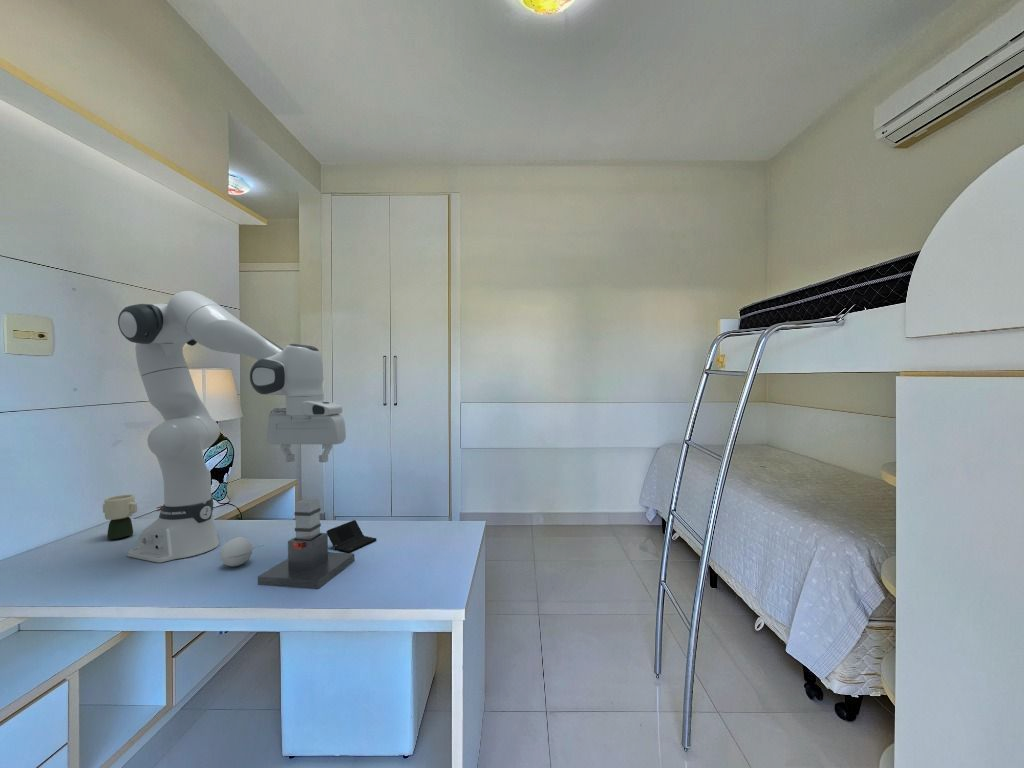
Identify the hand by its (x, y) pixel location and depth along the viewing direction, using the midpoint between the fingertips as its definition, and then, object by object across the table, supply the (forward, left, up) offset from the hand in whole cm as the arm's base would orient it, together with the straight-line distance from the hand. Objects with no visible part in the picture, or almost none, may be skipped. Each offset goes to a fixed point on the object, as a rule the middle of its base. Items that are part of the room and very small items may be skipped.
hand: (306, 461), depth 110 cm
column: (0, 0, -26) cm, 26 cm away
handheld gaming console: (+1, +19, -29) cm, 34 cm away
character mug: (-77, +15, -28) cm, 83 cm away
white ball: (-21, +2, -29) cm, 35 cm away
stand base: (0, 0, -28) cm, 28 cm away
